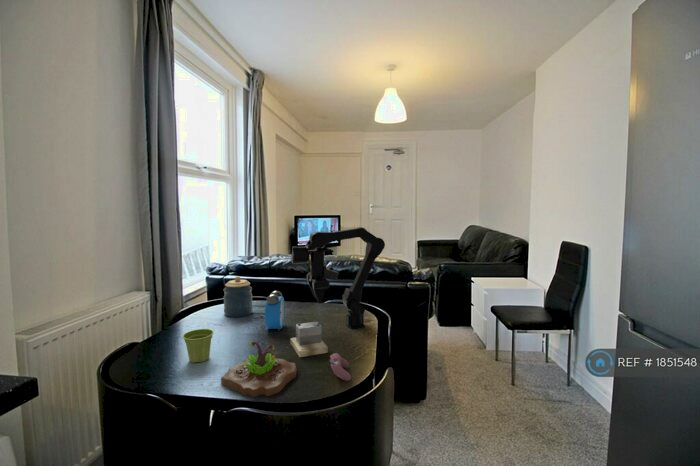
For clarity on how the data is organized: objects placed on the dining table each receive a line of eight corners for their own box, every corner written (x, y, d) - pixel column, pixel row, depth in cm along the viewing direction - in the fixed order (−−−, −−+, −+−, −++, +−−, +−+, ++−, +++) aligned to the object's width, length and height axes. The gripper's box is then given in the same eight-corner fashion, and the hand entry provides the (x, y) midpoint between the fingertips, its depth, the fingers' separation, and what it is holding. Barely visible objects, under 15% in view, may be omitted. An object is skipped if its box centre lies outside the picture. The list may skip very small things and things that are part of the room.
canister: (258, 312, 169) (257, 275, 168) (236, 319, 158) (235, 280, 157) (240, 307, 176) (239, 272, 175) (217, 314, 165) (216, 277, 164)
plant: (253, 359, 118) (253, 326, 117) (305, 369, 111) (305, 334, 110) (209, 388, 99) (208, 349, 99) (268, 402, 92) (268, 361, 91)
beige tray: (316, 339, 135) (316, 333, 135) (327, 352, 123) (327, 346, 123) (290, 343, 131) (290, 337, 131) (299, 357, 119) (299, 350, 119)
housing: (295, 340, 128) (295, 322, 127) (317, 337, 131) (317, 319, 130) (299, 345, 123) (299, 327, 122) (321, 342, 126) (321, 324, 126)
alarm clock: (279, 333, 141) (279, 296, 139) (264, 334, 141) (263, 296, 139) (285, 322, 154) (284, 288, 152) (271, 323, 154) (270, 288, 152)
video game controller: (336, 371, 112) (326, 352, 112) (349, 364, 112) (339, 345, 112) (338, 387, 102) (327, 367, 102) (352, 380, 103) (341, 359, 102)
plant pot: (195, 368, 111) (194, 341, 110) (177, 361, 116) (176, 335, 115) (220, 357, 119) (219, 332, 118) (202, 351, 124) (201, 326, 123)
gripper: (342, 265, 137) (342, 305, 138) (331, 258, 155) (331, 293, 156) (313, 266, 134) (314, 307, 135) (306, 259, 152) (306, 295, 153)
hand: (317, 300), depth 145 cm, fingers open, 9 cm apart
